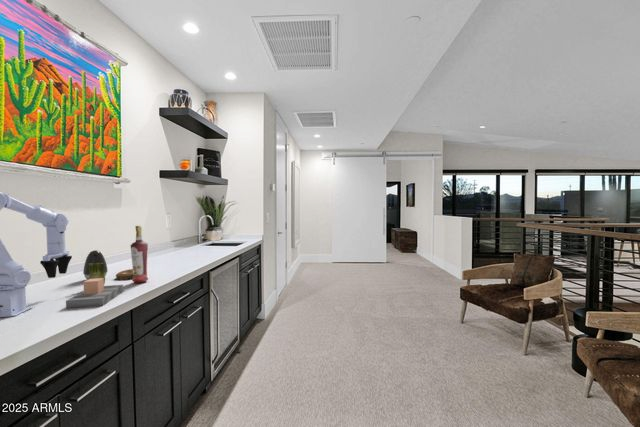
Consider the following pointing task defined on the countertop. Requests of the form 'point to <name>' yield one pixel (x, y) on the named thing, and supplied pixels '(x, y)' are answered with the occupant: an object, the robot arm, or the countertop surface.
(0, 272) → the robot arm
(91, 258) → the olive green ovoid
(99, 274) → the fennel bulb
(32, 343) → the countertop surface
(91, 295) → the charcoal board
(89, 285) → the terracotta block
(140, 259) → the liquor
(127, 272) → the decorative rock
